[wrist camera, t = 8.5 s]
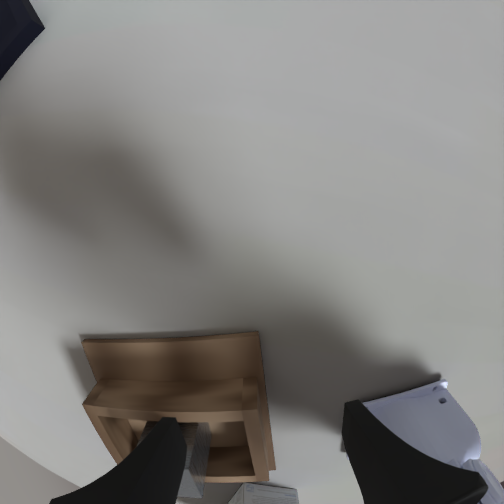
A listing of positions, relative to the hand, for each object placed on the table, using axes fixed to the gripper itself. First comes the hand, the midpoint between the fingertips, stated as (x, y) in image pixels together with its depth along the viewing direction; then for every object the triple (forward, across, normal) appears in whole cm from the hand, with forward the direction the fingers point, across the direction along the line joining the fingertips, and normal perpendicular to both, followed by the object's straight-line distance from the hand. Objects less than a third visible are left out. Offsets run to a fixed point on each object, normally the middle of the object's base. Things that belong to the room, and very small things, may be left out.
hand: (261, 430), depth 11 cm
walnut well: (+9, +7, +8) cm, 14 cm away
